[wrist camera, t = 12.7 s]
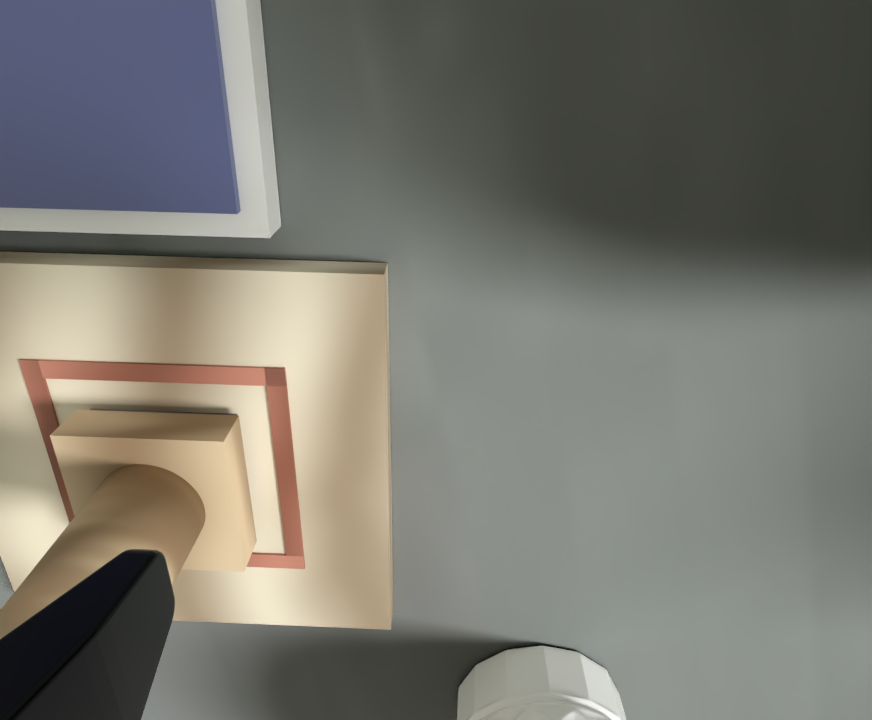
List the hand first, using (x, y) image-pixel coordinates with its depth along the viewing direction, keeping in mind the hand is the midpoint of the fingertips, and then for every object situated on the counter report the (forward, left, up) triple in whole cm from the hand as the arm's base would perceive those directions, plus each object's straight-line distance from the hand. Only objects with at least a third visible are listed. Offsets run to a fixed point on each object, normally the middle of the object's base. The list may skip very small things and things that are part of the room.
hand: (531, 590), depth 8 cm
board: (+10, +7, -12) cm, 17 cm away
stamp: (+10, +7, -11) cm, 16 cm away
